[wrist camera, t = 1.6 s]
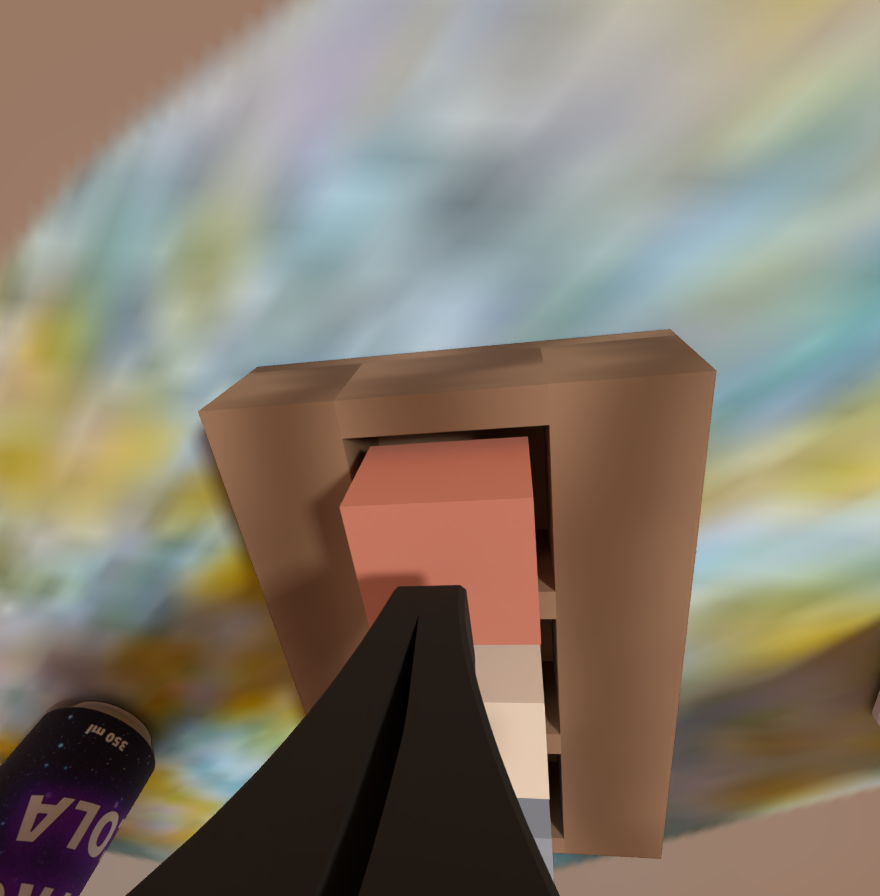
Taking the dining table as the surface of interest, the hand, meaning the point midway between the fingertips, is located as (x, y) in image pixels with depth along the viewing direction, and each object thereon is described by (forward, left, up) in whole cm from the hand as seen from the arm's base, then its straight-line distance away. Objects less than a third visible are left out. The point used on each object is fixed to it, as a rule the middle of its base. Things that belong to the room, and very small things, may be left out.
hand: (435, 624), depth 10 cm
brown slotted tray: (0, +6, -7) cm, 9 cm away
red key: (0, 0, -4) cm, 4 cm away
